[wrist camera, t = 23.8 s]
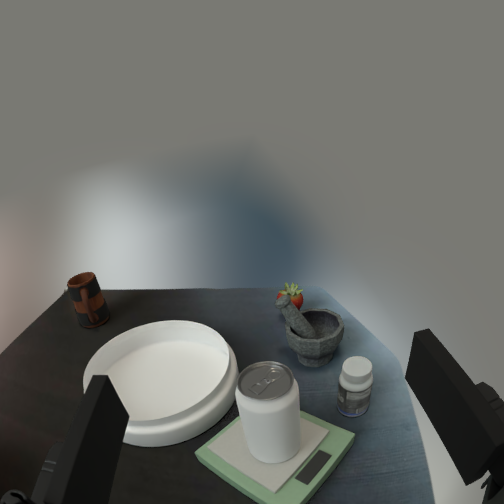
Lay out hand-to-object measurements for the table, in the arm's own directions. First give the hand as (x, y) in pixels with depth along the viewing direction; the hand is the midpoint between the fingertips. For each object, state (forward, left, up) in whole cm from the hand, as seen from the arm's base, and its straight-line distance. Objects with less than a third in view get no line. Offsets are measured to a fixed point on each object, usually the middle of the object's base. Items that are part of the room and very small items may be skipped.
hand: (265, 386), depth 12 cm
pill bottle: (+6, -23, -28) cm, 37 cm away
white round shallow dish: (+34, -9, -28) cm, 45 cm away
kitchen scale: (+10, -10, -28) cm, 31 cm away
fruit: (+28, -38, -28) cm, 55 cm away
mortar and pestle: (+18, -30, -28) cm, 45 cm away
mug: (+66, -10, -28) cm, 72 cm away
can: (+10, -10, -25) cm, 29 cm away
